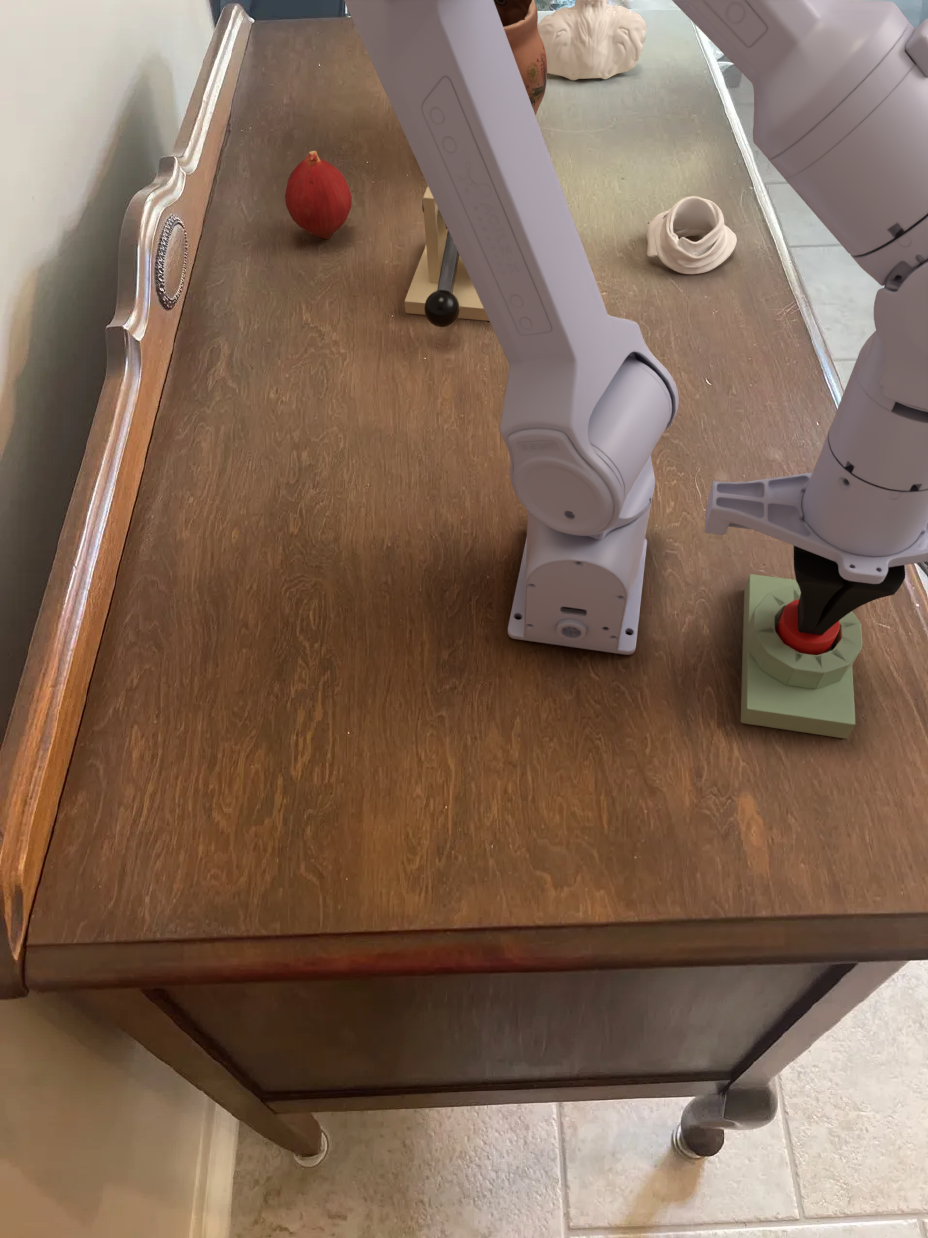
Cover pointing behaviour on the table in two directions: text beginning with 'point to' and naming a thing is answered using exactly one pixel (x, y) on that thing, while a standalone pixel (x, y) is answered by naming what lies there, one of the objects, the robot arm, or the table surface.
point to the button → (803, 641)
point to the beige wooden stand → (431, 268)
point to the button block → (794, 667)
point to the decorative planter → (525, 45)
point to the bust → (592, 40)
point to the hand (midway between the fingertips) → (810, 619)
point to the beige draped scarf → (690, 221)
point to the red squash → (318, 196)
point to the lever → (444, 290)
